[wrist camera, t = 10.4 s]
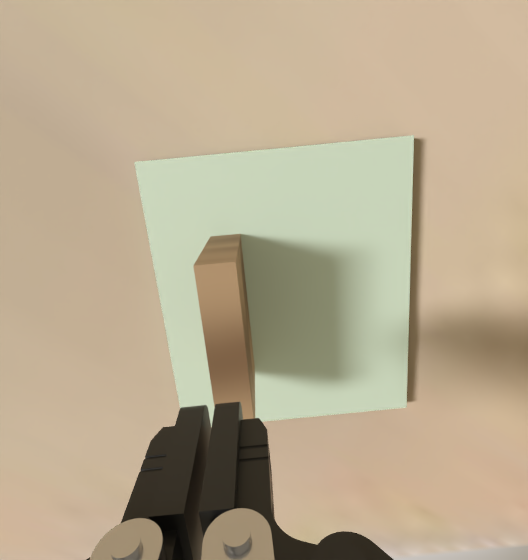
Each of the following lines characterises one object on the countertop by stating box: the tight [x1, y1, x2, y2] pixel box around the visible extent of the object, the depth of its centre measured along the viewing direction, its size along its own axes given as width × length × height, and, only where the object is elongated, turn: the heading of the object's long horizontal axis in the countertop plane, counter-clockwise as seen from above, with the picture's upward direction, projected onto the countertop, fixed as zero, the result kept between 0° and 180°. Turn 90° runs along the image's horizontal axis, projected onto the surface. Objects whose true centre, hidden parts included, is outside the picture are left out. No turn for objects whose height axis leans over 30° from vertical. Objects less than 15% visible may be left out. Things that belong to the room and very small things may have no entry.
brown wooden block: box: [193, 234, 255, 419], centre depth 18 cm, size 8×2×6 cm, turn 5°
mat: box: [134, 135, 414, 427], centre depth 21 cm, size 16×14×1 cm
